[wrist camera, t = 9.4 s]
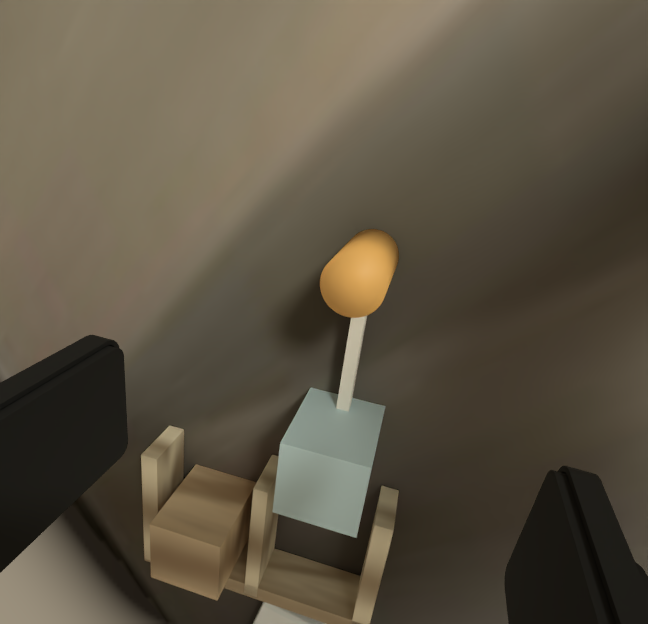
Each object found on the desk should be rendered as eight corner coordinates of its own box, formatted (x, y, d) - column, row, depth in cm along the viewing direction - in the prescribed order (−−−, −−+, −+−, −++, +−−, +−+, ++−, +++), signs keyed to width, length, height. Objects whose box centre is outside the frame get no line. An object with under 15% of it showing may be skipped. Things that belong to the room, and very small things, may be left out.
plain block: (196, 463, 34) (149, 524, 29) (256, 481, 34) (220, 547, 28) (194, 512, 36) (151, 577, 31) (252, 530, 36) (217, 600, 30)
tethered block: (333, 221, 25) (302, 243, 20) (421, 237, 24) (415, 264, 19) (302, 448, 31) (272, 512, 26) (372, 467, 30) (356, 538, 25)
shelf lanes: (169, 425, 34) (141, 454, 30) (398, 490, 31) (393, 530, 27) (169, 525, 38) (144, 560, 34) (373, 591, 34) (366, 637, 31)
